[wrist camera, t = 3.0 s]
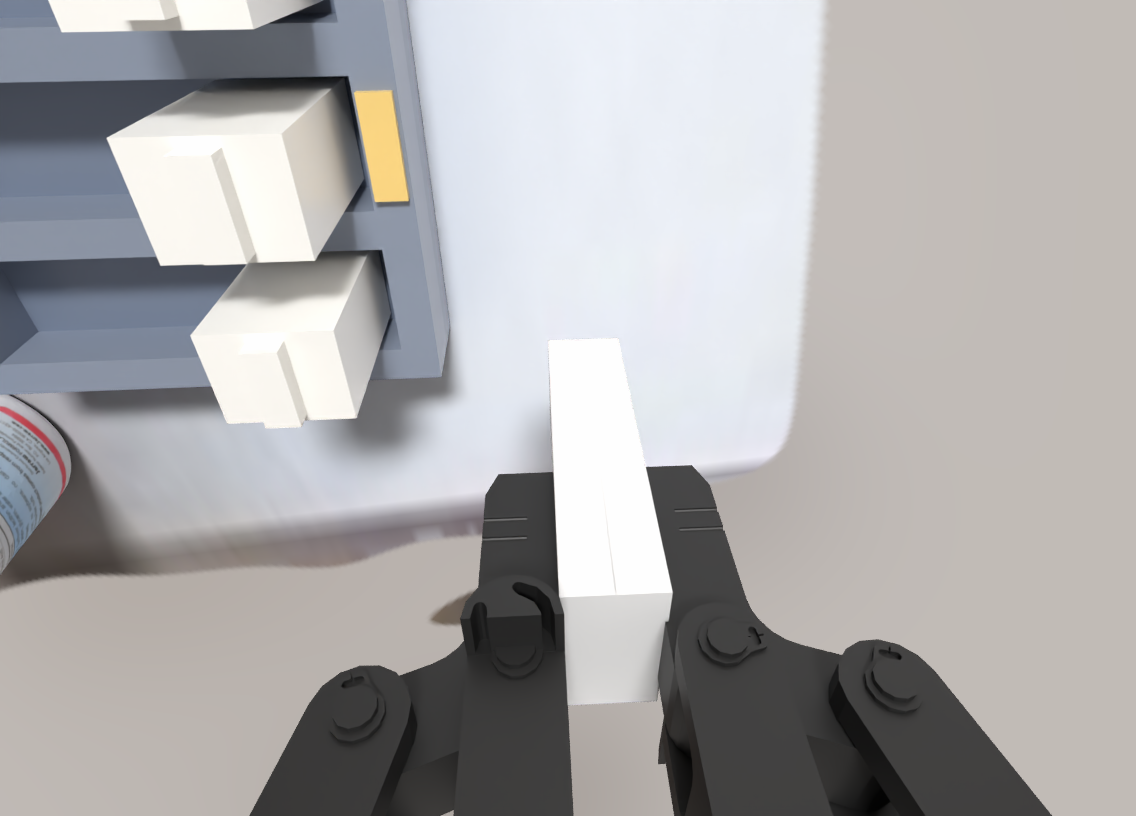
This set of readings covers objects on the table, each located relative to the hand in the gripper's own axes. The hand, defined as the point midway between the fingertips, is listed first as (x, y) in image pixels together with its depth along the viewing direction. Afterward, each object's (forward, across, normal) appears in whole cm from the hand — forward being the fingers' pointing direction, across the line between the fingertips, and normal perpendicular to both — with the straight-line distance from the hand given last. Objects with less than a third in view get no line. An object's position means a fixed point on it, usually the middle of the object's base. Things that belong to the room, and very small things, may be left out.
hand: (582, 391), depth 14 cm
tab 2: (+6, -7, +4) cm, 10 cm away
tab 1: (+6, -7, 0) cm, 9 cm away
